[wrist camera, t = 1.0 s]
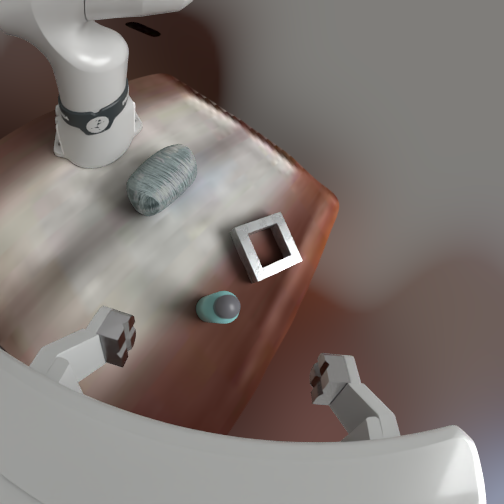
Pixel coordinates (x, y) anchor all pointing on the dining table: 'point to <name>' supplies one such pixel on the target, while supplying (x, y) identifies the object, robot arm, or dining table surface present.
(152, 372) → the dining table surface
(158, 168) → the spool
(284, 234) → the housing
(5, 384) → the robot arm
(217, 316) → the bottle
